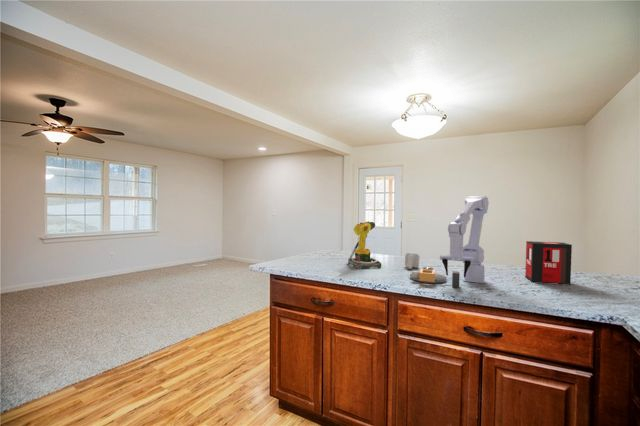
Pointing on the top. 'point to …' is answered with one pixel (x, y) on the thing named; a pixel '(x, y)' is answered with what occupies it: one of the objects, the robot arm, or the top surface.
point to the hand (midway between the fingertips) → (455, 275)
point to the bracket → (424, 275)
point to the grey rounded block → (412, 260)
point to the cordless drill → (363, 248)
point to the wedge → (455, 279)
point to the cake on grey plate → (438, 277)
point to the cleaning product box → (548, 262)
